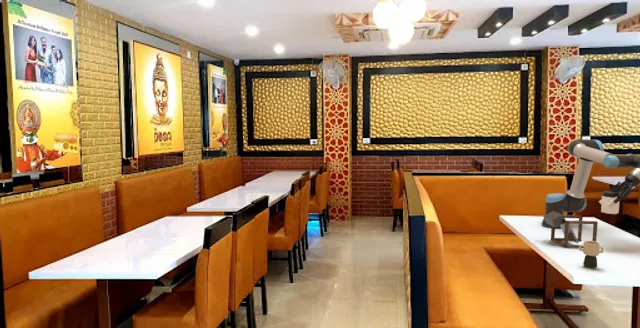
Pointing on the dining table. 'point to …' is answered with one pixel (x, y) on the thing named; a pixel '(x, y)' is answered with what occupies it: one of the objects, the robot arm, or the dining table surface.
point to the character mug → (591, 253)
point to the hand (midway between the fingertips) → (604, 204)
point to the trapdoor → (559, 223)
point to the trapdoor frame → (580, 222)
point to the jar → (606, 199)
